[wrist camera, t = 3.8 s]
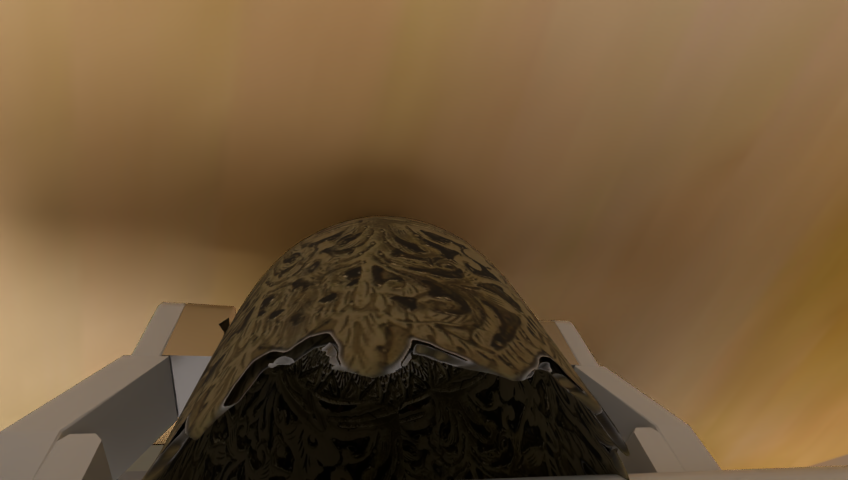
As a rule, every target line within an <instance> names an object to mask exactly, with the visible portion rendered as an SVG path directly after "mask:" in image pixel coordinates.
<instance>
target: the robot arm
mask: <svg viewBox="0 0 848 480" xmlns="http://www.w3.org/2000/svg"><path fill="white" fill-rule="evenodd" d="M235 316H236V309H235V307H234V306H222V305H207V304H192V303H188V304H185V303H171V302H163V303H161V304H160V305H159V306H158V307H157V309H156V311H155V313H154V314H153V316H152V318H151V320H150V322H149V324H148V325H147V327H146V329H145V331H144V333H143V335H142V336H141V338H140V340H139V342H138V344H137V346H136V348H135V349H134V351H133V353H132V355H123V356H122V357H120V358H118V359H117V360H115V361H114V362H112V363H110V364H109V365H107V366H106V367H104V368H102V369H101V370H99V371H97V372H96V373H94V374H93V375H91V376H89V377H88V378H86V379H85V380H83V381H81V382H80V383H78V384H76V385H75V386H73V387H72V388H70V389H68V390H67V391H65V392H64V393H62V394H60V395H59V396H57V397H55V398H54V399H52V400H51V401H49V402H47V403H46V404H44V405H43V406H41V407H39V408H38V409H36V410H34V411H33V412H31V413H30V414H28V415H26V416H25V417H23V418H22V419H20V420H18V421H17V422H15V423H14V424H12V425H10V426H9V427H7V428H5V429H4V430H2V431H1V432H0V480H117V479H118V478H119V477H120V476H121V475H122V474H123V473H124V472H125V471H126V470H127V469H128V468H129V467H130V466H131V465H132V464H133V463H134V462H135V461H136V460H137V459H138V458H139V457H140V456H141V455H142V454H143V453H144V452H145V451H146V450H147V449H148V448H149V447H150V446H151V445H152V444H153V443H154V442H155V441H156V440H157V439H158V438H159V437H160V436H161V435H163V434H164V433H165V432H166V431H167V430H168V429H169V428H170V427H171V426H172V425H173V424H174V423H175V422H176V421H177V420H178V418H177V417H179V416H180V414H181V413H182V411H183V409H184V407H185V405H186V403H187V401H188V399H189V398H190V396H191V394H192V392H193V390H194V388H195V387H196V385H197V383H198V381H199V379H200V377H201V376H202V374H203V372H204V370H205V368H206V366H207V365H208V363H209V361H210V359H211V357H212V356H213V354H214V352H215V350H216V349H217V347H218V345H219V343H220V341H221V340H222V338H223V336H224V334H225V333H226V331H227V329H228V327H229V326H230V324H231V322H232V321H233V319H234V317H235ZM538 321H539V322H540V324H541V325H542V326H543V328H544V329H545V330H546V332H547V333H548V335H549V336H550V337H551V339H552V340H553V341H554V343H555V344H556V345H557V347H558V348H559V350H560V351H561V352H562V354H563V355H564V356H565V358H566V359H567V361H568V362H569V363H570V365H571V366H572V367H573V369H574V370H575V372H576V373H577V374H578V376H579V377H580V379H581V380H582V381H583V383H584V384H585V385H586V387H587V388H588V390H589V391H590V392H591V394H592V395H593V396H594V397H595V399H596V400H597V401H598V402H599V404H600V405H601V406H602V408H603V409H604V411H605V412H606V414H607V415H608V416H609V418H610V419H611V421H612V422H613V424H614V425H615V427H616V428H617V430H618V431H619V433H620V435H621V436H622V438H623V440H624V441H625V443H626V445H627V447H628V450H629V453H630V455H629V456H626V455H625V454H623V453H622V452H621V451H620V450H619V449H618V451H617V453H618V455H619V457H620V459H621V461H622V463H623V465H624V467H625V469H626V471H627V473H628V476H629V479H630V480H848V465H846V466H822V467H821V466H820V467H795V468H768V469H741V470H721V468H720V467H719V466H718V464H717V463H716V462H715V460H714V459H713V457H712V456H711V455H710V453H709V452H708V451H707V449H706V448H705V446H704V445H703V444H702V442H701V441H700V440H699V438H698V437H697V435H696V434H695V433H694V431H693V430H692V428H691V427H690V426H689V425H688V424H686V423H685V422H683V421H682V420H680V419H679V418H678V417H676V416H675V415H673V414H672V413H670V412H669V411H668V410H666V409H665V408H663V407H662V406H660V405H659V404H658V403H656V402H655V401H653V400H652V399H650V398H649V397H648V396H646V395H645V394H643V393H642V392H640V391H639V390H638V389H636V388H635V387H633V386H632V385H630V384H629V383H628V382H626V381H625V380H623V379H622V378H620V377H619V376H618V375H616V374H615V373H613V372H612V371H610V370H609V369H608V368H606V367H605V366H599V365H598V363H597V362H596V360H595V359H594V357H593V355H592V354H591V352H590V351H589V349H588V347H587V346H586V344H585V343H584V341H583V339H582V338H581V336H580V334H579V333H578V331H577V330H576V328H575V326H574V325H573V324H572V323H571V322H570V321H556V320H551V321H545V320H538ZM470 480H626V479H624V478H623V477H621V476H619V475H617V474H603V475H575V476H549V477H522V478H496V479H470Z"/></svg>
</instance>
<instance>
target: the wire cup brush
mask: <svg viewBox="0 0 848 480" xmlns="http://www.w3.org/2000/svg"><path fill="white" fill-rule="evenodd" d="M618 449H619V450H620V451H621V452H622V453H623V454H625V455H626V456H629V455H630V453H629V450H628V447H627V445H626V443H625V441H624V440H623V438H622V436H621V435H620V433H619V431H618V430H617V428H616V427H615V425H614V424H613V422H612V421H611V419H610V418H609V416H608V415H607V414H606V412H605V411H604V409H603V408H602V406H601V405H600V404H599V402H598V401H597V400H596V399H595V397H594V396H593V395H592V394H591V392H590V391H589V390H588V388H587V387H586V385H585V384H584V383H583V381H582V380H581V379H580V377H579V376H578V374H577V373H576V372H575V370H574V369H573V367H572V366H571V365H570V363H569V362H568V361H567V359H566V358H565V356H564V355H563V354H562V352H561V351H560V350H559V348H558V347H557V345H556V344H555V343H554V341H553V340H552V339H551V337H550V336H549V335H548V333H547V332H546V330H545V329H544V328H543V326H542V325H541V324H540V322H539V321H538V320H537V318H536V317H535V316H534V314H533V313H532V312H531V310H530V309H529V308H528V306H527V305H526V304H525V302H524V301H523V300H522V299H521V297H520V296H519V295H518V293H517V292H516V291H515V289H514V288H513V287H512V286H511V285H510V283H509V282H508V281H507V280H506V278H505V277H504V276H503V275H502V274H501V273H500V272H499V271H498V270H497V269H496V267H495V266H494V265H493V264H492V263H491V262H490V261H489V260H488V259H487V258H486V257H485V256H483V255H482V254H481V253H480V252H478V251H477V250H476V249H475V248H473V247H472V246H471V245H470V244H468V243H467V242H466V241H464V240H463V239H461V238H459V237H457V236H456V235H454V234H452V233H450V232H448V231H446V230H443V229H441V228H439V227H436V226H434V225H431V224H428V223H425V222H421V221H418V220H413V219H408V218H400V217H387V216H369V217H363V218H359V219H355V220H350V221H346V222H342V223H339V224H336V225H333V226H330V227H328V228H326V229H323V230H321V231H319V232H317V233H315V234H313V235H312V236H310V237H308V238H306V239H305V240H303V241H301V242H299V243H298V244H297V245H295V246H294V247H292V248H291V249H290V250H288V251H287V252H286V253H285V254H284V255H283V256H282V257H280V258H279V259H278V260H277V261H276V262H275V263H274V264H273V265H272V266H271V268H270V269H269V270H268V271H267V272H266V273H265V274H264V275H263V277H262V278H261V279H260V280H259V281H258V283H257V284H256V285H255V287H254V288H253V290H252V291H251V292H250V294H249V295H248V297H247V298H246V300H245V301H244V303H243V305H242V306H241V308H240V309H239V311H238V313H237V314H236V316H235V317H234V319H233V321H232V322H231V324H230V326H229V327H228V329H227V331H226V333H225V334H224V336H223V338H222V340H221V341H220V343H219V345H218V347H217V349H216V350H215V352H214V354H213V356H212V357H211V359H210V361H209V363H208V365H207V366H206V368H205V370H204V372H203V374H202V376H201V377H200V379H199V381H198V383H197V385H196V387H195V388H194V390H193V392H192V394H191V396H190V398H189V399H188V401H187V403H186V405H185V407H184V409H183V411H182V413H181V414H180V416H179V418H178V420H177V422H176V424H175V426H174V428H173V429H172V431H171V433H170V435H169V437H168V439H167V441H166V442H165V444H164V446H163V448H162V450H161V451H160V453H159V455H158V457H157V458H156V460H155V461H154V463H153V464H152V466H151V467H150V468H149V470H148V471H147V473H146V474H145V476H144V477H143V478H142V480H470V479H496V478H522V477H549V476H575V475H603V474H617V475H619V476H621V477H623V478H624V479H626V480H630V479H629V476H628V473H627V471H626V469H625V467H624V465H623V463H622V461H621V459H620V457H619V455H618V453H617V451H618Z"/></svg>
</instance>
